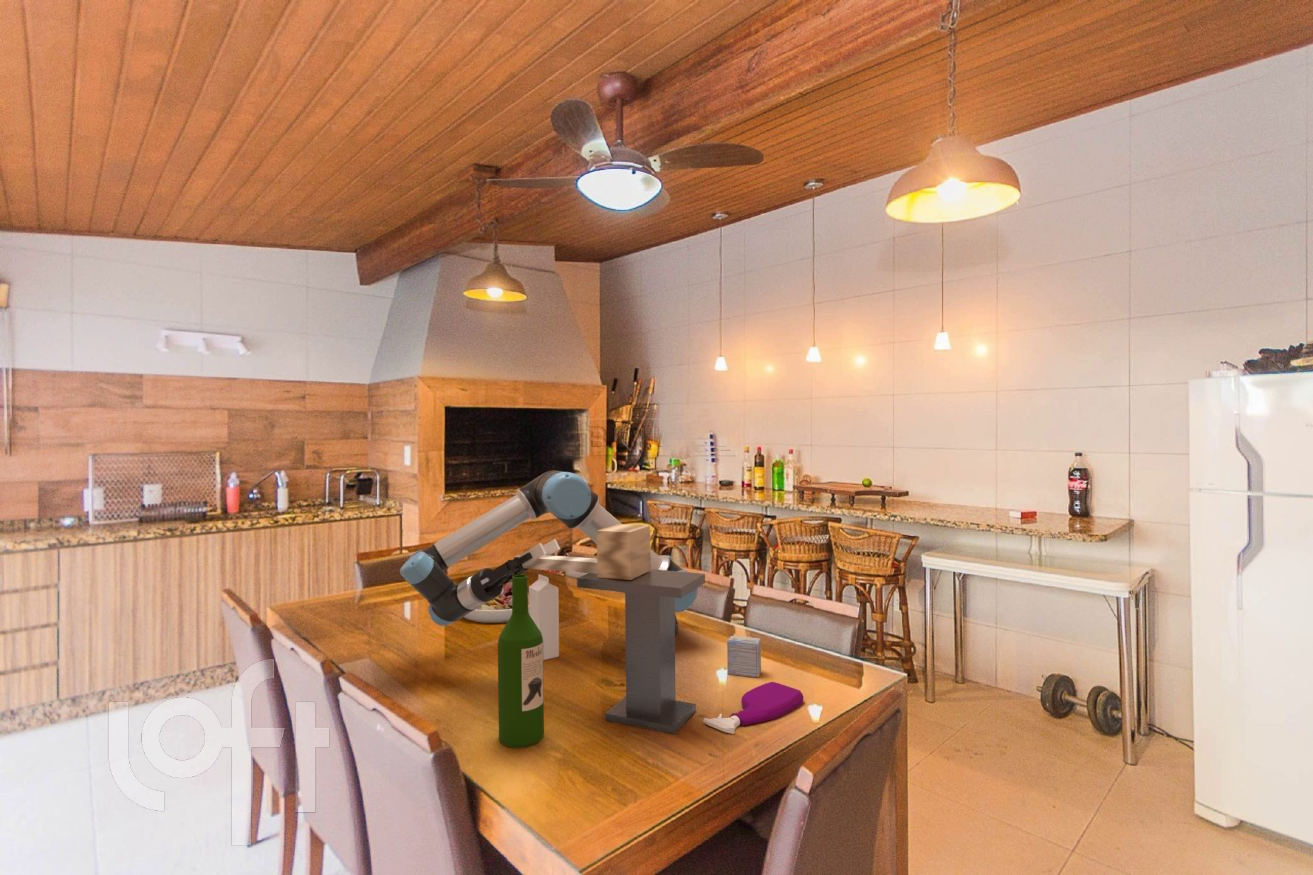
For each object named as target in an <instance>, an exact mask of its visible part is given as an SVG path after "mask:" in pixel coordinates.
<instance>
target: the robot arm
mask: <svg viewBox="0 0 1313 875" xmlns="http://www.w3.org/2000/svg"><path fill="white" fill-rule="evenodd" d="M548 513H550V514H551V515H552V516H554V517H555V518H556V519H557V520H558V521H560V522H561V523H563V525H565V526H566V527H567V528H568V529H570V530H575V529H578V530H580V532H582V533H583V534H584V535H585V536H587V537H588V538H589V539H590V540H591V541H592V542H594V543H595V545H597V535H596V531H597V530H601V529H604V528H607V527H611V526H614V525H618V524H621V525H624V524H623V523H621V521H619V520H618V519H617V518H616V517H614V516H613V514H611V513H610V512H609V511H607V509H606V508H604V507H603V506H602V505H601V504H600V497H599V495H598V494H597V493H596V492H595V491H594V490H592V489H591V488H590V486H589V485H588V482H586V480H585V479H584V478H583V477H581V476H580V475H578V474H576V473H573V472H571V471H570V472H569V471H562V470H554V469H553V470H549V471H548V470H547V471H546V472H544V473H542V474H541V475H539V476H537V477H536V478H534V479H533V480H531V481H530V482H528V483H527V484H525V485H524V486H522V487H521V488H519V489H517V491H516V493H515V495H514V496H512V497H511V498H509V499H507V500H505V501H504V502H502V503H501V504H498V505H497V506H495V507H494V508H492V509H491V510H489V511H487V512H485V513H484V514H482V515H480V516H478V517H476V518H475V519H473V520H472V521H470V522H468V523H467V524H465V525H463V526H461V527H460V528H459V529H457V530H455V531H454V532H452V533H449V534H448V535H447V536H445V537H443V538H442V539H440V540H438V541H436V542H435V543H433V544H432V545H430V546H428V547H426V548H425V549H419V550H417V551H415V552H413V553H412V554H411V555H410V557H409V558H408V559H407V561H405V563H404V564H403V565H402V566H401V567H400V569H399V574H400V575H401V576H402V578H403V579H404V581H405V582H406V583H407V584H409V585H410V586H411V587H412V588H414V590H416V591H417V593H419V594H420V595H421V596H422V597H423V599H425V600H426V601H427V602H428V604H429V605H428V615H429V616H430V619H431V621H432V622H433V623H435V625H438V626H439V627H440V626H441V627H443V626H444V627H446V626H449V625H452V624H453V623H456V622H458V621H460V620H461V619H462V618H464V616H465V615H467V614H469V613H470V612H472V611H473V610H475V609H478V610H480V609H481V605H484V604H485V603H487V602H489V601H491V600H492V599H494V598H496V597H497V596H499V595H500V594H501V592H502V588H504V586H503V585H506V584H508V583H509V582H511V581H512V577H513V576H514V575H520V574H522V575H523V573H525V572H527V571H529V569H528V568H523V566H522V564H523V565H524V566H526V565H528V564H530V563H531V562H533V561H535V560H536V559H538V558H540V557H541V556H543V555H551V556H552V555H553V554H554V553H556V552H558V551H560V550H561V547H560V545H559V543H558V541H557V539H556V538H554V539H551V540H550V541H549V542H546V543H545V544H542V542H539V543H538V544H536V545H534V546H533V547H531V548H529V549H528V550H526V551H525V552H523V553H522V554H521V553H520V554H519V555H520V556H519V557H520V558H518V557H515V556H514V557H515V558H514V557H513V559H508V560H506V561H505V562H504V563H502V564H500V565H499V566H497V567H496V568H494V569H492V568H489V567H485V568H482V569H480V570H479V571H477V572H476V573H474V574H472V575H471V576H469V577H467V578H466V579H463V581H461V582H460V583H458V584H457V583H456V582H455V581H454V580H453V579H452V578H451V577H450V576H449V575H448V574H447V573H446V572H445V571H446V570H448V569H450V567H453V566H455V564H457V563H459V562H460V561H462V560H464V559H465V558H467V557H469V556H470V555H472V554H474V553H475V552H477V551H479V550H481V549H482V548H484V547H485V546H487V545H488V544H490V543H491V542H494V541H495V540H497V539H499V538H500V537H502V536H503V535H505V534H506V533H508V532H510V531H511V530H513V529H515V528H516V527H518V526H519V525H521V524H523V523H524V522H527V521H528V520H530V519H532V520H537V519H538V518H540V517H541V516H542V517H543V515H546V514H548ZM650 555H651V569H656V570H667V571H678V572H688V571H687V570H684V569H683V568H681V567H680V565H678V564H677V563H676V562H674V561H673V557H672V556H671V555H665V554H663V555H659V554H657V553H656V552H655V551H654V550H653V549H651V548H650ZM698 588H699V587H698ZM698 588H696V589H695V590H693V591H692V592H690V593H689V594H687V595H685V596H684V597H682V598H675V613H682V612H684V611H686V610H688V609H689V608H691V606H692V605H694V602H695V600H696V599H697V596H698V594H699V593H698V592H699V591H698ZM679 629H680V628H679V621H678V620H677V615H676V614H675V636H676V635H677V634H678V633H679V631H680V630H679Z"/></svg>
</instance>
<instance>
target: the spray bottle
mask: <svg viewBox="0 0 1313 875" xmlns="http://www.w3.org/2000/svg"><path fill="white" fill-rule="evenodd" d="M803 702H804V695H803V692H802V691H801V690H800V689H796V688H793V687H791V686H787V685H785V684H781V683H779V682H776V681H770V682H766V683H764V684H761V685H759V686H757V687H754V688H752V689H750V690H748V691H747V692H745V693H744V694H743V695H742V696H741V701H740V703H741V706H742V708H743V710H738V712H733V713H731V714H730V716H729V717H723V715H722V714H723V713H719V715H718V717H716V718H715V717H714V718H707V717H704V718H703V723H704V724H705V725H707V726H709V727H711V728H714V729H717V730H719V731H721V732H723V733H728V734H732V735H736V734H735V731H736V729H737V727H739V726H741V727H742V726H748V725H749V726H750V725H754V724H759V723H762V722H767V721H771V720H774V719H777V718H780V717H782V716H784V715H787V714H789V713H790V712H792V711H793V710H795V709H796V708H798V707H799V706H801V705H802V704H803Z"/></svg>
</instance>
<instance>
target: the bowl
mask: <svg viewBox="0 0 1313 875" xmlns="http://www.w3.org/2000/svg"><path fill="white" fill-rule="evenodd" d="M527 587H528V612H529V587H530V586H529V585H527ZM511 615H512V581H510V582H508V583H506V584H504V586H503V588H502V592H501V594H500V595H499V596H497V597H496V598H494V599H492V600H491V601H489V602H487V603H485V604H484V605H481V609H480V610H478V609H475V610H473V611H472V612H470V613H469V614H467V615H465V616H464V617H463V618H464V619H466V620H469V621H471V622H476V623H483V624H499V623H500V624H503V623H507V622H508V620H509V619H510V617H511Z"/></svg>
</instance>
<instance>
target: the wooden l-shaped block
mask: <svg viewBox="0 0 1313 875" xmlns="http://www.w3.org/2000/svg"><path fill="white" fill-rule="evenodd" d="M621 524H622V523H621ZM621 524H618V525H614V526H611V527H607V528H604V529H601V530H597V531H596V535H597V544H596V558H593V557H580V556H579V557H577V556H565V555H552V554H551V555H543V556H541V557H540V558H538V559H536V560H535V561H533V562H531V563H530V564H528V565H526V566H524V565H523V564H522V566H523V568H528V570H542V571H543V570H545V571H557V572H567V573H568V572H569V573H570V572H571V573H580V574H581V573H582V574H588V573H592V574H597V577H600V578H612V579H625V580H632V579H634V578H636V577H638V576H640V575H642V574H644V573H646V572H649V571H651V555H650V549H651V526H650V525H641V524H637V525H636V524H623V525H621ZM520 555H521V554H518V555H516V556H513V559H514V558H515V557H518V558H520V557H519V556H520Z"/></svg>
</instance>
